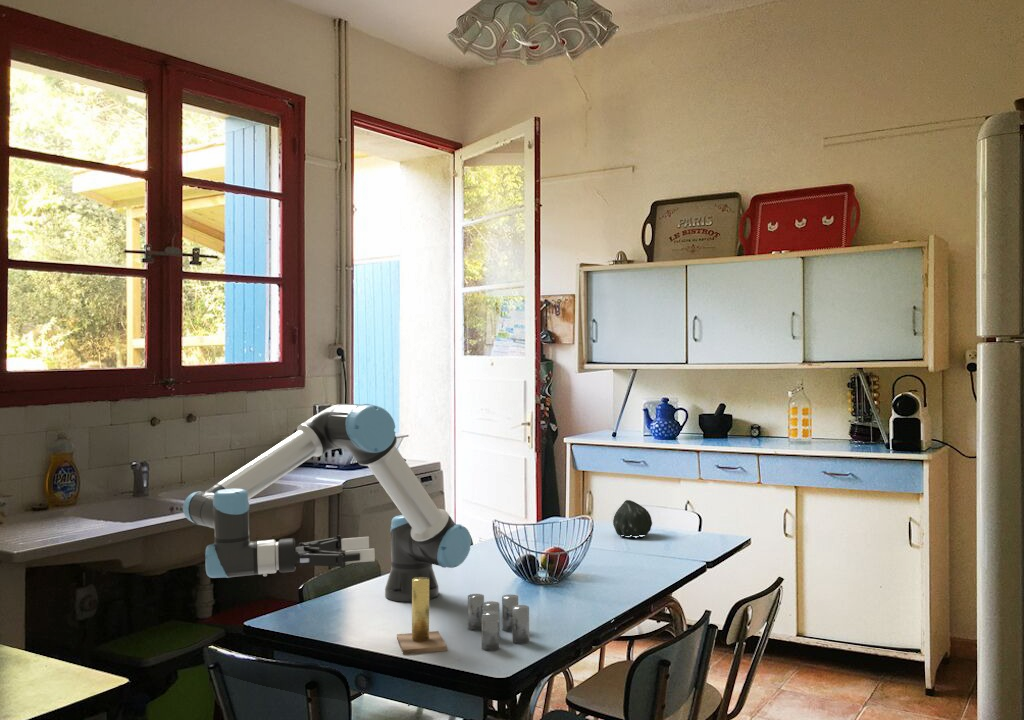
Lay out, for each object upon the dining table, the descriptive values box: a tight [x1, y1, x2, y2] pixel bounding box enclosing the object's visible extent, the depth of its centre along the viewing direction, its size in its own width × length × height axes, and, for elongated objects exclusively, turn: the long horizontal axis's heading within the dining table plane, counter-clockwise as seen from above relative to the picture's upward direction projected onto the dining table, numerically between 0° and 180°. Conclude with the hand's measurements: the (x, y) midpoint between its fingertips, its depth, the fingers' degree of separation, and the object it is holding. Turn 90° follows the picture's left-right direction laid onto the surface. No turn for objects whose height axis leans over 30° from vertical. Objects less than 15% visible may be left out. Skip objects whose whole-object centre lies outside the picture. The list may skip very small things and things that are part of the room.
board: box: [396, 630, 448, 655], centre depth 204 cm, size 12×10×1 cm
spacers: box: [467, 593, 530, 652], centre depth 210 cm, size 20×12×8 cm, turn 14°
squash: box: [612, 499, 653, 536], centre depth 333 cm, size 14×15×15 cm
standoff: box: [411, 577, 430, 642], centre depth 205 cm, size 4×4×14 cm
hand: (371, 548), depth 204 cm, fingers open, 13 cm apart
